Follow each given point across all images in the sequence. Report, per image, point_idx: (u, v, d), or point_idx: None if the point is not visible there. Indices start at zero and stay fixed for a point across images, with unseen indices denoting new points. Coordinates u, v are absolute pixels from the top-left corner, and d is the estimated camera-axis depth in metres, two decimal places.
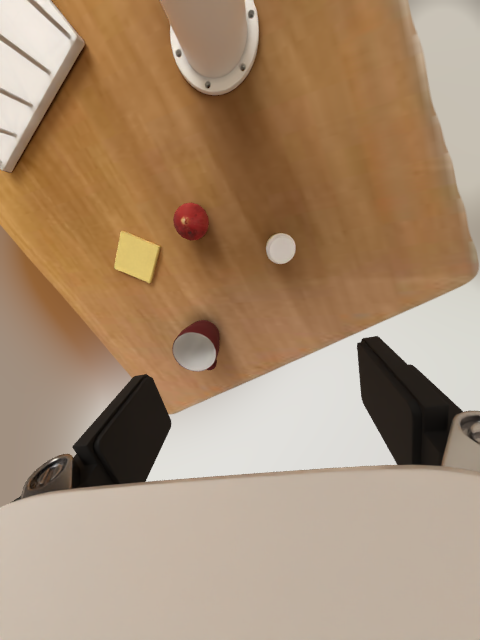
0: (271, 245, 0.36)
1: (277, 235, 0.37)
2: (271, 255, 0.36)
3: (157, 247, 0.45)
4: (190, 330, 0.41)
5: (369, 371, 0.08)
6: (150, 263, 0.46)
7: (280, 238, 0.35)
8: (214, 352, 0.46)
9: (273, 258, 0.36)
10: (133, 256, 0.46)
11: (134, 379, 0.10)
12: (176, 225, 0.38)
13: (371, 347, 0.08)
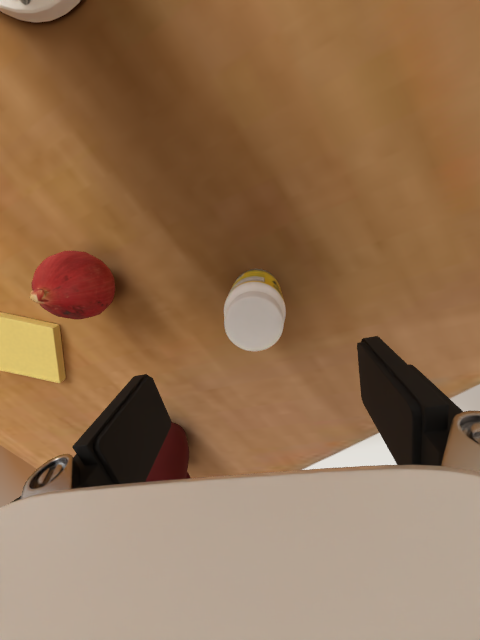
0: (227, 319, 0.16)
1: (240, 289, 0.17)
2: (233, 338, 0.16)
3: (51, 329, 0.26)
4: None
5: (369, 371, 0.08)
6: (49, 354, 0.27)
7: (243, 302, 0.15)
8: None
9: (238, 344, 0.16)
10: (20, 348, 0.27)
11: (134, 379, 0.10)
12: None
13: (371, 347, 0.08)
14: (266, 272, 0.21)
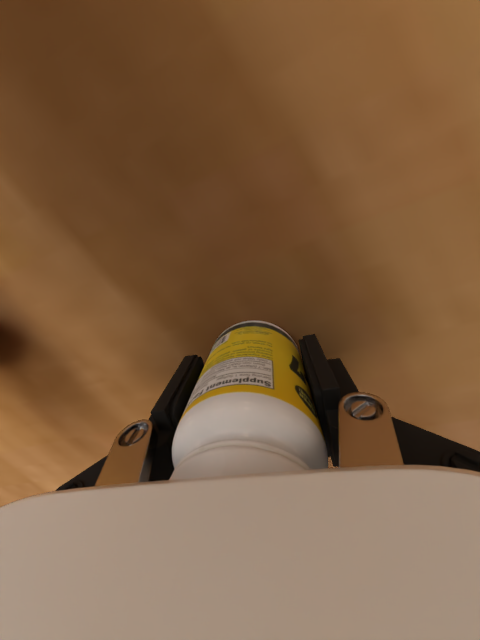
0: None
1: (208, 416, 0.06)
2: None
3: None
4: None
5: (304, 364, 0.10)
6: None
7: None
8: None
9: None
10: None
11: (186, 358, 0.11)
12: None
13: (306, 343, 0.10)
14: (275, 331, 0.11)
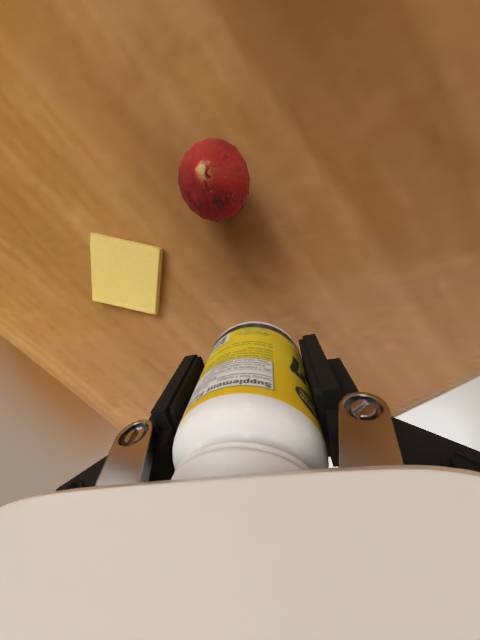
0: None
1: (208, 417, 0.06)
2: None
3: (157, 250, 0.25)
4: None
5: (304, 363, 0.10)
6: (150, 280, 0.26)
7: None
8: None
9: None
10: (120, 273, 0.26)
11: (186, 358, 0.11)
12: (186, 190, 0.18)
13: (306, 343, 0.10)
14: (275, 331, 0.11)
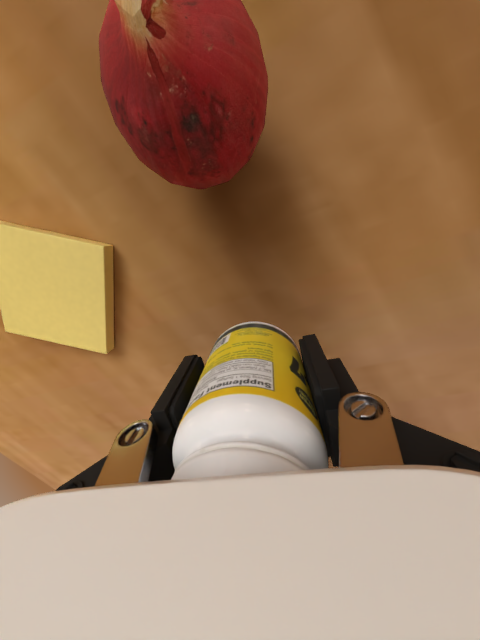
0: None
1: (208, 417, 0.06)
2: None
3: (100, 249, 0.14)
4: None
5: (304, 364, 0.10)
6: (93, 300, 0.15)
7: None
8: None
9: None
10: (42, 288, 0.16)
11: (186, 358, 0.11)
12: (116, 100, 0.07)
13: (305, 343, 0.10)
14: (275, 332, 0.11)
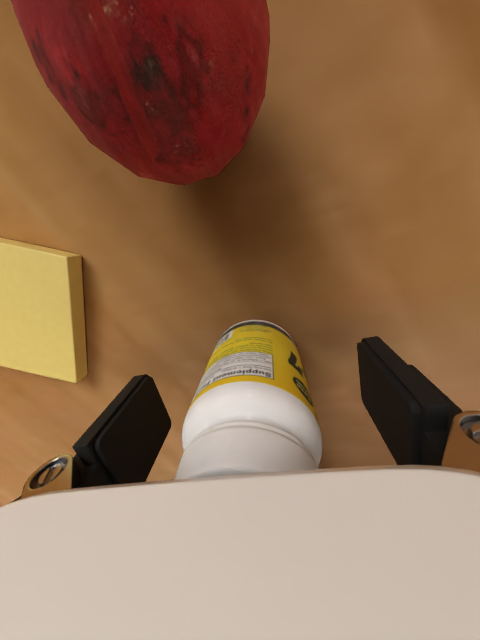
0: None
1: (215, 402, 0.07)
2: None
3: (63, 261, 0.12)
4: None
5: (369, 371, 0.08)
6: (58, 320, 0.13)
7: None
8: None
9: None
10: None
11: (134, 379, 0.10)
12: (32, 42, 0.05)
13: (371, 347, 0.08)
14: (274, 329, 0.12)
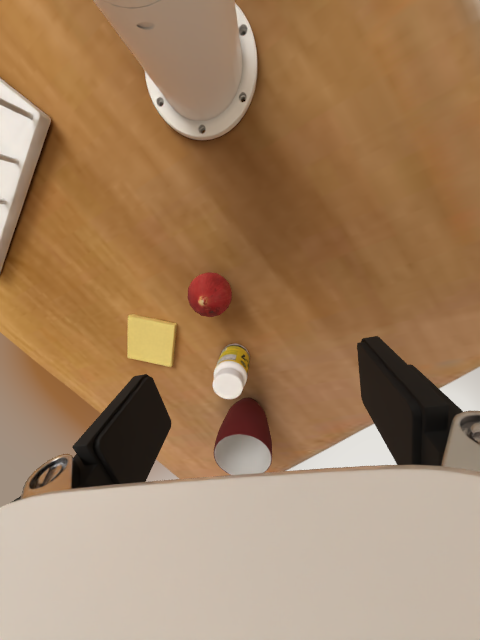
0: (214, 383, 0.31)
1: (221, 365, 0.32)
2: (217, 392, 0.31)
3: (173, 326, 0.37)
4: (232, 431, 0.32)
5: (369, 371, 0.08)
6: (168, 345, 0.38)
7: (222, 375, 0.30)
8: None
9: (220, 395, 0.31)
10: (147, 340, 0.38)
11: (134, 379, 0.10)
12: (193, 306, 0.30)
13: (371, 347, 0.08)
14: (240, 347, 0.37)
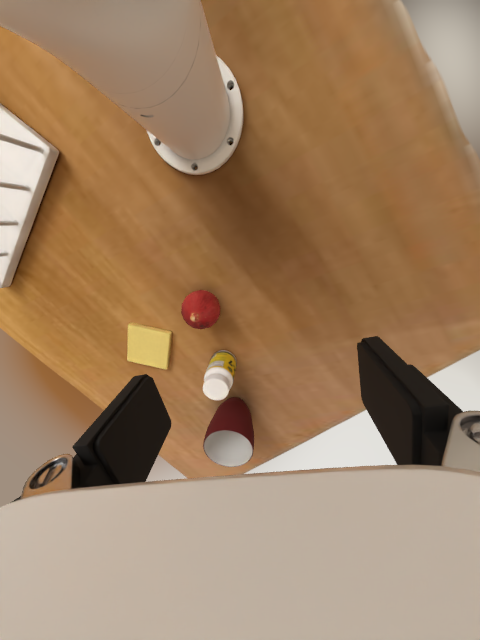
0: (204, 387, 0.35)
1: (210, 370, 0.37)
2: (206, 394, 0.36)
3: (168, 334, 0.41)
4: (220, 427, 0.37)
5: (369, 371, 0.08)
6: (164, 350, 0.43)
7: (210, 380, 0.35)
8: None
9: (209, 397, 0.36)
10: (145, 346, 0.43)
11: (134, 379, 0.10)
12: (186, 320, 0.34)
13: (371, 347, 0.08)
14: (228, 353, 0.41)
